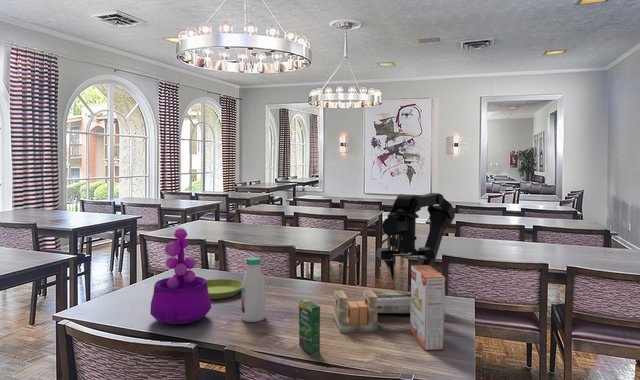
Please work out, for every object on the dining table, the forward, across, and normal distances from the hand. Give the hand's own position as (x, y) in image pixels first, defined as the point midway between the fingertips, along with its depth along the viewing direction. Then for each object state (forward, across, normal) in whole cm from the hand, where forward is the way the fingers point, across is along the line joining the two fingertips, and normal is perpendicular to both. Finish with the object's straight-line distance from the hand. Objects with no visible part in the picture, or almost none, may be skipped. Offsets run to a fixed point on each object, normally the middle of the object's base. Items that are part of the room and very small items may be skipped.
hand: (405, 278), depth 150 cm
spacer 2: (+9, +16, +5) cm, 19 cm away
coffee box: (+9, +12, -6) cm, 16 cm away
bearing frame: (+13, +18, +5) cm, 23 cm away
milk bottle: (+13, +50, -4) cm, 52 cm away
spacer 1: (+9, +19, +5) cm, 22 cm away
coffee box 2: (+13, +35, +22) cm, 43 cm away
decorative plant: (+13, +73, -5) cm, 74 cm away
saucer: (+14, +64, -34) cm, 74 cm away
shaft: (+10, +2, +5) cm, 11 cm away
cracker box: (+13, 0, +20) cm, 24 cm away
